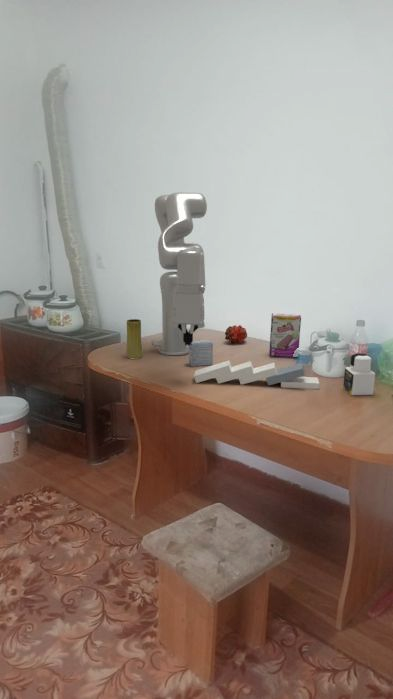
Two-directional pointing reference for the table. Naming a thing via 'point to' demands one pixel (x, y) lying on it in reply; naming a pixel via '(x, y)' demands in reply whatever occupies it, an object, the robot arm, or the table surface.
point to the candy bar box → (284, 334)
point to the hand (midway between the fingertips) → (187, 344)
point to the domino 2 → (237, 372)
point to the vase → (134, 338)
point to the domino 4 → (287, 374)
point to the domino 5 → (302, 383)
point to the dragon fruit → (235, 334)
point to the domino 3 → (259, 373)
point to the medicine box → (201, 353)
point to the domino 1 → (213, 371)
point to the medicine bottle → (359, 375)
